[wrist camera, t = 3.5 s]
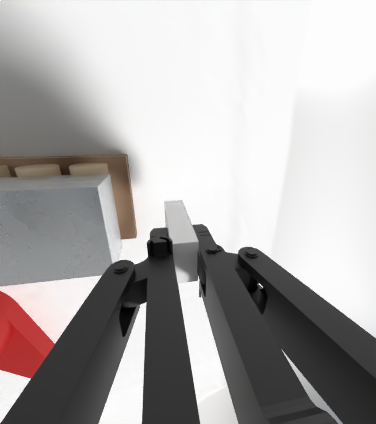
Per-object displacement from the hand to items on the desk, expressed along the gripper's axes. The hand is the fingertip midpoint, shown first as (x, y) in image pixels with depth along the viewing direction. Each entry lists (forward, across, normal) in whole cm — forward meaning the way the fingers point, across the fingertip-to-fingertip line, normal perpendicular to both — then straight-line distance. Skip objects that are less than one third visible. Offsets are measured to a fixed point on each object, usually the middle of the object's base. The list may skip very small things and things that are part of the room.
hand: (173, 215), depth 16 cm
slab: (+2, -11, 0) cm, 11 cm away
